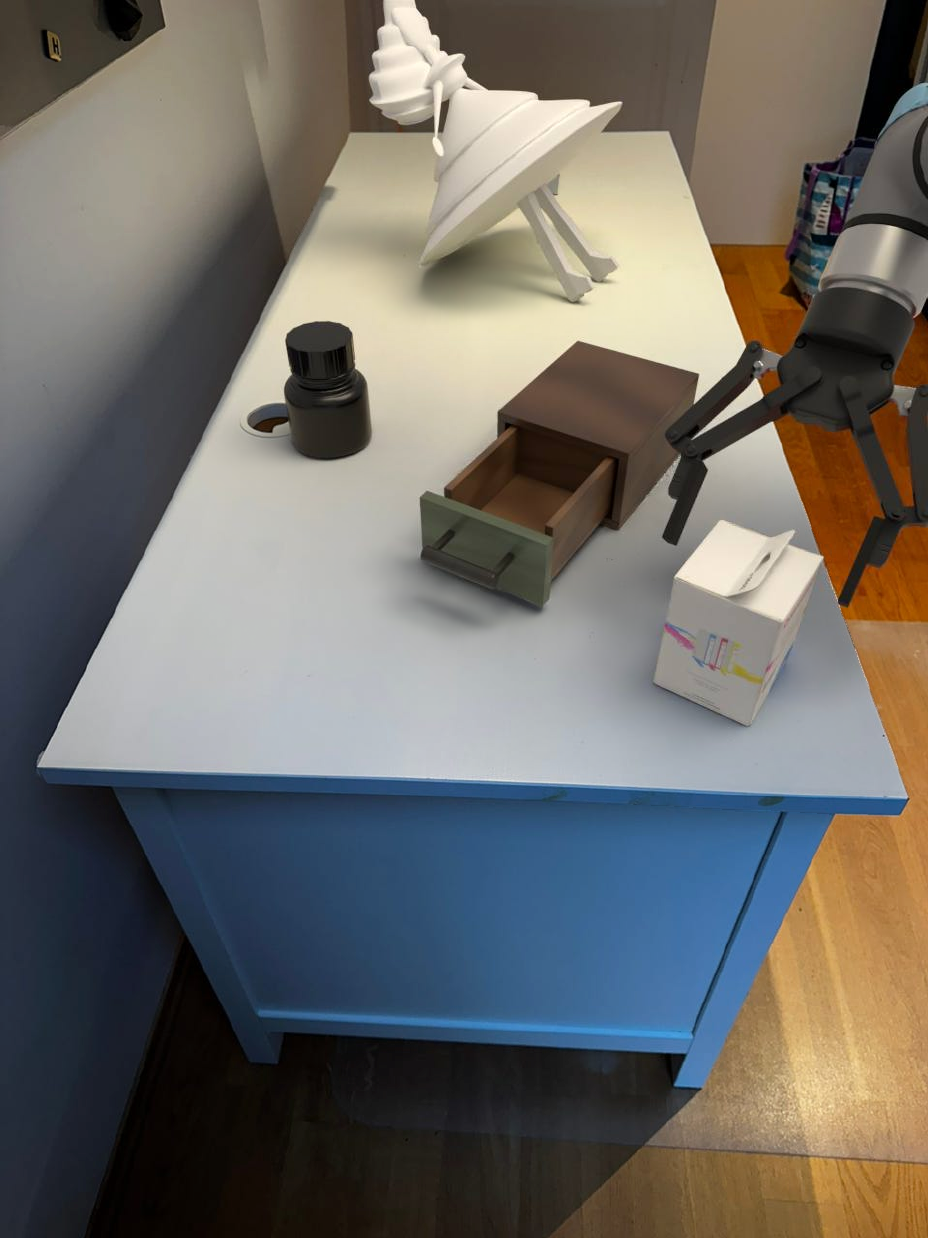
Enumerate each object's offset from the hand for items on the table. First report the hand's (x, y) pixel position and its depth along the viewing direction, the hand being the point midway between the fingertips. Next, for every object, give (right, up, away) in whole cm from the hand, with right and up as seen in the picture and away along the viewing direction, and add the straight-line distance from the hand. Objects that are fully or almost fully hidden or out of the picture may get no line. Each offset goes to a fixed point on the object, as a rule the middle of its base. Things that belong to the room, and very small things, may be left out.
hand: (752, 572), depth 68 cm
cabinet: (-8, +13, +27) cm, 30 cm away
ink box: (-1, -8, +5) cm, 10 cm away
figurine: (-17, +48, +63) cm, 81 cm away
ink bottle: (-36, +16, +31) cm, 51 cm away
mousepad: (-13, +77, +94) cm, 122 cm away
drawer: (-17, +3, +16) cm, 24 cm away
